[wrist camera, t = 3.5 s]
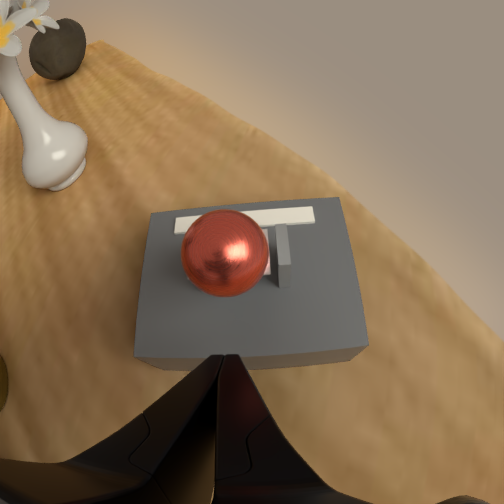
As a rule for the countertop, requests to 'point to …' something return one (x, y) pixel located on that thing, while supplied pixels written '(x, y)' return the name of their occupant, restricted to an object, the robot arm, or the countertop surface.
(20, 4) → the flower vase
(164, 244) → the switch box
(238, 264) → the switch lever
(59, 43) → the dark brown ball
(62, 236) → the countertop surface
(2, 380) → the salt shaker
